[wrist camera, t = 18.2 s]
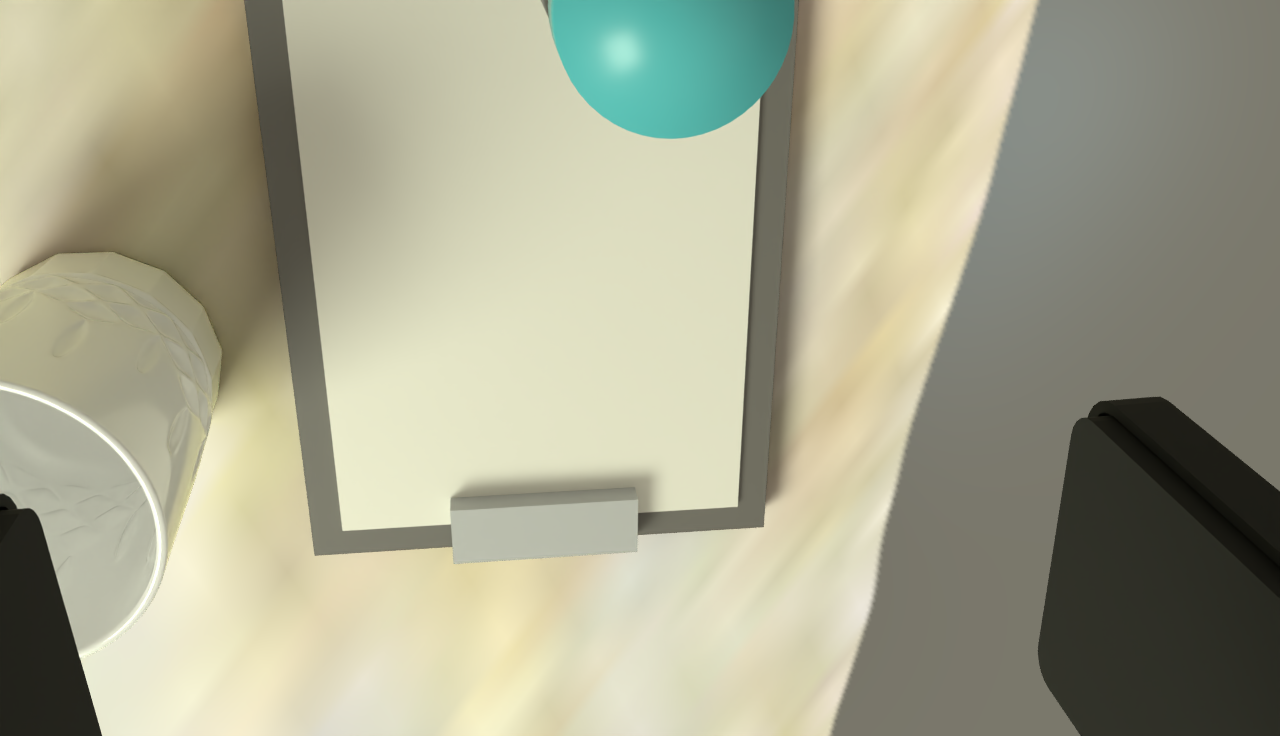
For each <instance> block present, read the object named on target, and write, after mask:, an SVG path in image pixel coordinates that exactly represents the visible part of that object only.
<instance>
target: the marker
mask: <svg viewBox="0 0 1280 736" xmlns="http://www.w3.org/2000/svg"><path fill="white" fill-rule="evenodd" d="M541 2H542V5H543V7H544V9H545V11H546V14H547V16H548V18H549V24H550V29H551V33H552V37H553V40H554V43H555V46H556V49H557V52H558V54H559V57H560V59H561V61H562V64H563V66H564V68H565V70H566V72H567V74H568V76H569V78H570V80H571V82H572V83H573V85H574V86H575V88H576V89H577V91H578V92H579V94H580V95H581V96H582V97H583V98H584V100H585V101H586V102H587V103H588V104H589V105H590V106H591V107H592V108H593V109H594V110H596V111H597V112H598V113H599V114H600V115H601V116H603V117H604V118H606V119H607V120H609V121H610V122H612V123H613V124H615V125H617V126H619V127H621V128H623V129H625V130H627V131H630V132H633V133H636V134H639V135H643V136H648V137H653V138H663V139H678V138H688V137H693V136H698V135H702V134H705V133H708V132H711V131H713V130H716V129H718V128H720V127H722V126H724V125H726V124H728V123H730V122H732V121H733V120H735V119H736V118H738V117H739V116H741V115H742V114H744V113H745V112H746V111H747V110H748V109H749V108H750V107H752V106H753V105H754V104H755V103H756V102H757V101H758V100H759V99H760V97H761V96H762V95H763V94H764V93H765V92H766V90H767V89H768V88H769V86H770V85H771V83H772V82H773V81H774V79H775V77H776V75H777V74H778V72H779V70H780V68H781V66H782V64H783V61H784V59H785V56H786V54H787V51H788V48H789V44H790V40H791V37H792V31H793V24H794V0H541Z"/></svg>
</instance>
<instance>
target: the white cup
mask: <svg viewBox="0 0 1280 736" xmlns="http://www.w3.org/2000/svg"><path fill="white" fill-rule="evenodd" d="M221 361H222V349H221V347H220V344H219V342H218V340H217V337H216V335H215V332H214V330H213V328H212V325H211V323H210V321H209V318H208V316H207V314H206V311H205V309H204V307H203V306H202V305H201V304H200V303H199V302H198V301H197V300H196V299H195V298H193V297H192V296H191V295H190V294H189V293H188V292H187V291H186V290H185V289H184V288H183V287H181V286H180V285H179V284H178V283H177V282H176V281H175V280H174V279H173V278H172V277H171V276H169V275H168V274H167V273H166V272H165V271H163V270H160V269H158V268H155V267H152V266H150V265H147V264H144V263H141V262H139V261H136V260H133V259H131V258H128V257H125V256H122V255H120V254H117V253H114V252H91V253H63V254H56V255H54V256H52V257H50V258H48V259H46V260H44V261H42V262H40V263H38V264H37V265H35V266H33V267H31V268H29V269H27V270H25V271H23V272H21V273H19V274H17V275H15V276H13V277H12V278H10V279H9V280H8V281H6V282H5V283H4V284H3V285H2V286H0V494H3V493H4V494H5V495H7V496H9V497H10V498H11V499H12V500H13V502H14V503H15V504H16V506H17V509H23V508H30V509H32V510H34V511H35V513H36V514H37V515H38V517H39V519H40V522H41V524H42V528H43V531H44V535H45V538H46V542H47V545H48V549H49V552H50V556H51V559H52V563H53V566H54V570H55V573H56V577H57V580H58V584H59V587H60V591H61V594H62V598H63V601H64V605H65V608H66V612H67V615H68V618H69V622H70V625H71V629H72V632H73V636H74V639H75V643H76V646H77V650H78V653H79V657H80V659H82V658H84V657H87V656H89V655H91V654H93V653H95V652H97V651H99V650H101V649H103V648H104V647H106V646H108V645H109V644H111V643H112V642H114V641H115V640H116V639H118V638H119V637H120V636H122V635H123V634H124V633H125V632H126V631H128V630H129V629H130V628H131V627H132V626H133V625H134V624H135V623H136V622H137V621H138V620H139V618H140V617H141V616H142V615H143V614H144V612H145V611H146V610H147V608H148V607H149V605H150V604H151V602H152V600H153V599H154V597H155V595H156V593H157V591H158V589H159V586H160V584H161V581H162V578H163V575H164V572H165V569H166V566H167V563H168V560H169V557H170V554H171V550H172V547H173V544H174V541H175V538H176V535H177V532H178V529H179V526H180V523H181V520H182V517H183V514H184V511H185V509H186V506H187V503H188V500H189V497H190V494H191V491H192V488H193V485H194V482H195V479H196V476H197V472H198V469H199V465H200V462H201V458H202V454H203V450H204V447H205V443H206V440H207V436H208V432H209V428H210V424H211V419H212V412H213V409H214V406H215V404H216V401H217V398H218V392H219V382H220V371H221Z"/></svg>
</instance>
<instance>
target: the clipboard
mask: <svg viewBox="0 0 1280 736" xmlns="http://www.w3.org/2000/svg"><path fill="white" fill-rule="evenodd" d="M244 2H245V10H246V18H247V26H248V33H249V41H250V49H251V57H252V65H253V73H254V81H255V89H256V97H257V104H258V112H259V120H260V128H261V136H262V144H263V152H264V160H265V168H266V175H267V183H268V191H269V199H270V207H271V215H272V223H273V231H274V239H275V246H276V254H277V262H278V270H279V278H280V286H281V294H282V302H283V310H284V317H285V325H286V333H287V341H288V349H289V357H290V365H291V373H292V380H293V388H294V396H295V404H296V412H297V420H298V428H299V436H300V444H301V451H302V459H303V467H304V475H305V483H306V491H307V499H308V507H309V515H310V522H311V530H312V538H313V546H314V554H315V556H316V555H332V554H348V553H363V552H379V551H395V550H410V549H426V548H442V547H453V562H454V564H460V563H475V562H490V561H505V560H521V559H536V558H551V557H566V556H582V555H597V554H612V553H627V552H637V544H638V535H646V534H661V533H677V532H693V531H709V530H724V529H740V528H756V527H764V514H765V499H766V484H767V469H768V454H769V439H770V424H771V409H772V394H773V379H774V364H775V350H776V335H777V320H778V305H779V290H780V275H781V260H782V245H783V230H784V215H785V200H786V185H787V170H788V155H789V140H790V125H791V110H792V95H793V80H794V65H795V50H796V35H797V20H798V5H799V0H794V24H793V31H792V37H791V40H790V44H789V48H788V51H787V54H786V56H785V59H784V61H783V64H782V66H781V68H780V70H779V72H778V74H777V75H776V77H775V79H774V81H773V82H772V83H771V85H770V86H769V88H768V89H767V90H766V92H765V93H764V94H763V95H762V96H761V97H760V99H759V100H758V101H757V102H756V103H755V104H754V105H753V106H752V107H750V108H749V109H748V110H747V111H746V112H745V113H744V114H742V115H741V116H739V117H738V118H736V119H735V120H733V121H732V122H730V123H728V124H726V125H724V126H722V127H720V128H718V129H716V130H713V131H711V132H708V133H705V134H702V135H698V136H693V137H688V138H678V139H663V138H653V137H648V136H643V135H639V134H636V133H633V132H630V131H627V130H625V129H623V128H621V127H619V126H617V125H615V124H613V123H612V122H610V121H609V120H607V119H606V118H604V117H603V116H601V115H600V114H599V113H598V112H597V111H596V110H594V109H593V108H592V107H591V106H590V105H589V104H588V103H587V102H586V101H585V100H584V98H583V97H582V96H581V95H580V94H579V92H578V91H577V89H576V88H575V86H574V85H573V83H572V82H571V80H570V78H569V76H568V74H567V72H566V70H565V68H564V66H563V64H562V61H561V59H560V57H559V54H558V52H557V49H556V46H555V43H554V40H553V37H552V33H551V29H550V24H549V18H548V16H547V14H546V11H545V9H544V7H543V5H542V2H541V0H244Z"/></svg>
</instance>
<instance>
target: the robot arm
mask: <svg viewBox="0 0 1280 736" xmlns="http://www.w3.org/2000/svg"><path fill="white" fill-rule="evenodd" d="M1038 657H1039V665H1040V669H1041V673H1042V675H1043V678H1044V681H1045V683H1046V684H1047V686H1048V688H1049V690H1050V691H1051V692H1052V694H1053V695H1054V697H1055V698H1056V700H1057V701H1058V703H1059V704H1060V706H1061V707H1062V709H1063V710H1064V712H1065V713H1066V715H1067V716H1068V718H1069V719H1070V720H1071V722H1072V723H1073V725H1074V726H1075V728H1076V729H1077V731H1078V732H1079V734H1080V735H1081V736H1280V491H1278V490H1277V489H1276V488H1275V487H1274V486H1272V485H1271V484H1270V483H1269V482H1267V481H1266V480H1265V479H1264V478H1262V477H1261V476H1260V475H1259V474H1258V473H1256V472H1255V471H1254V470H1253V469H1251V468H1250V467H1249V466H1248V465H1247V464H1245V463H1244V462H1243V461H1242V460H1240V459H1239V458H1238V457H1237V456H1235V455H1234V454H1233V453H1232V452H1231V451H1229V450H1228V449H1227V448H1226V447H1224V446H1223V445H1222V444H1221V443H1219V442H1218V441H1217V440H1216V439H1214V438H1213V437H1212V436H1211V435H1210V434H1208V433H1207V432H1206V431H1205V430H1203V429H1202V428H1201V427H1200V426H1199V425H1197V424H1196V423H1195V422H1194V421H1192V420H1191V419H1190V418H1189V417H1187V416H1186V415H1185V414H1184V413H1182V412H1181V411H1180V410H1179V409H1178V408H1176V407H1175V406H1174V405H1173V404H1171V403H1170V402H1169V401H1167V400H1165V399H1164V398H1161V397H1147V398H1136V399H1123V400H1111V401H1100V402H1098V403H1097V404H1096V405H1094V406H1093V408H1092V409H1091V411H1090V413H1089V415H1088V418H1081V419H1079V420H1078V421H1077V422H1076V424H1075V425H1074V427H1073V431H1072V434H1071V440H1070V446H1069V453H1068V459H1067V465H1066V472H1065V478H1064V484H1063V491H1062V497H1061V504H1060V510H1059V517H1058V523H1057V529H1056V535H1055V542H1054V549H1053V555H1052V562H1051V567H1050V574H1049V580H1048V586H1047V593H1046V599H1045V606H1044V612H1043V618H1042V625H1041V632H1040V638H1039V645H1038ZM0 736H102V734H101V730H100V727H99V723H98V720H97V716H96V713H95V709H94V706H93V702H92V699H91V695H90V692H89V688H88V685H87V681H86V678H85V674H84V671H83V667H82V664H81V660H80V657H79V653H78V650H77V646H76V643H75V639H74V636H73V632H72V629H71V625H70V622H69V618H68V615H67V612H66V608H65V605H64V601H63V598H62V594H61V591H60V587H59V584H58V580H57V577H56V573H55V570H54V566H53V563H52V559H51V556H50V552H49V549H48V545H47V542H46V538H45V535H44V531H43V528H42V524H41V522H40V519H39V517H38V515H37V514H36V513H35V511H34V510H32V509H30V508H23V509H17V506H16V504H15V503H14V502H13V500H12V499H11V498H10V497H9V496H7V495H5V494H4V493H3V494H0Z"/></svg>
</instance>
